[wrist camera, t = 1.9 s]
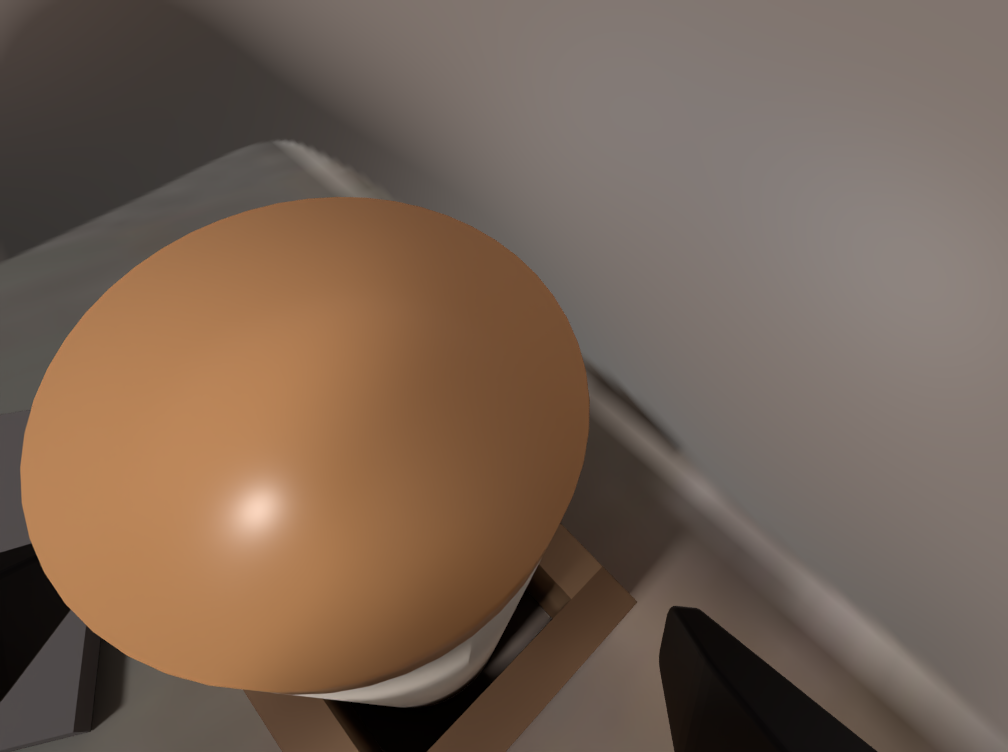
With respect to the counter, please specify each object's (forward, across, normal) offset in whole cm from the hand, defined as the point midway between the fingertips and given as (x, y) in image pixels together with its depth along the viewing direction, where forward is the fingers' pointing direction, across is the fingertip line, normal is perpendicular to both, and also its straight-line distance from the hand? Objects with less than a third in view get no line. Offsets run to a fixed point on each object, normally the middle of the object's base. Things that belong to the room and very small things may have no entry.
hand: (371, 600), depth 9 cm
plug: (+8, 0, +6) cm, 10 cm away
